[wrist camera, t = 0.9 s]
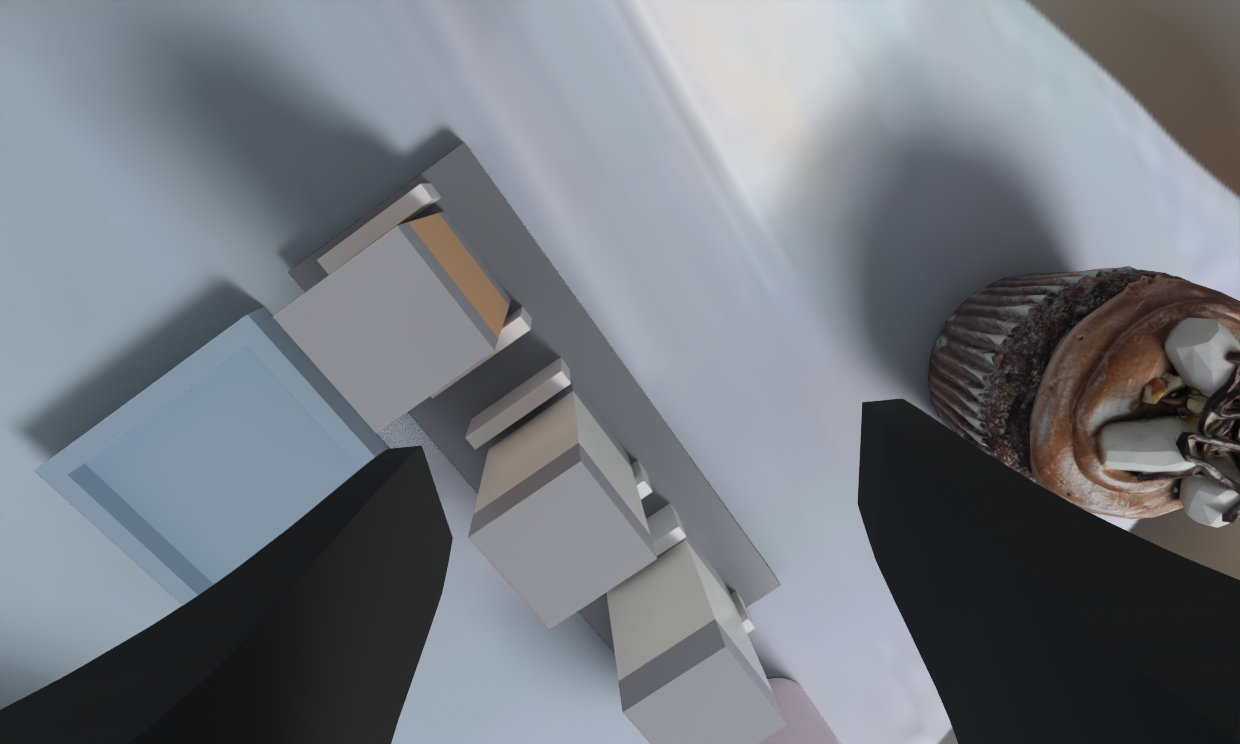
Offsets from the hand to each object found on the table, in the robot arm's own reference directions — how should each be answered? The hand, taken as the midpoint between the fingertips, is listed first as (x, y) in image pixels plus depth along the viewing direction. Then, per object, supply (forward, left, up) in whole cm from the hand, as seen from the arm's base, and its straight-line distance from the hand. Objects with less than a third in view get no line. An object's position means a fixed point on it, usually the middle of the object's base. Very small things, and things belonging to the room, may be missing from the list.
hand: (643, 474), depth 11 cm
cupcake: (+14, -13, -17) cm, 25 cm away
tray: (-15, +2, -16) cm, 22 cm away
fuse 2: (-4, -12, -16) cm, 20 cm away
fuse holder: (-4, -4, -16) cm, 17 cm away
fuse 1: (-4, -4, -16) cm, 17 cm away
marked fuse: (-4, +4, -16) cm, 17 cm away
